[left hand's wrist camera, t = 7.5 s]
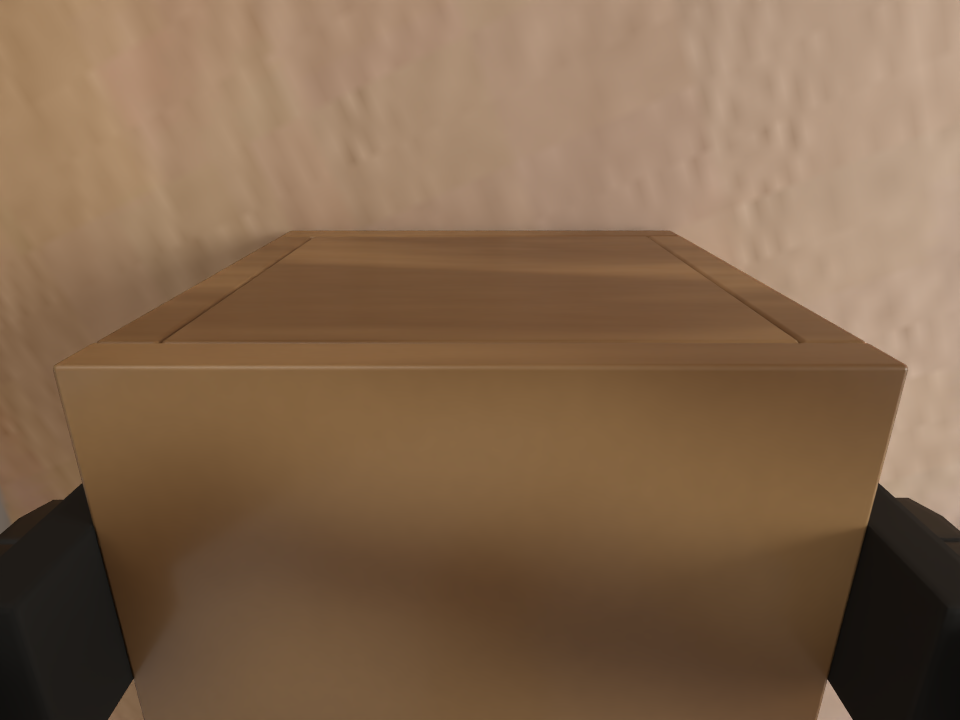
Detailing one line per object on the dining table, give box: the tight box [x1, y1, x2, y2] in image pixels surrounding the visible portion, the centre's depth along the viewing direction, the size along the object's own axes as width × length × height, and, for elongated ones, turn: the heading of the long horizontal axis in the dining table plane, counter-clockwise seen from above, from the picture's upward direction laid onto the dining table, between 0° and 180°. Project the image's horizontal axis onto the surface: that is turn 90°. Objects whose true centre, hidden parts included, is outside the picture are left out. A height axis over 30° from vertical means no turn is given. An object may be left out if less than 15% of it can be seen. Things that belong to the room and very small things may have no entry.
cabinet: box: [53, 231, 908, 720], centre depth 15 cm, size 19×10×10 cm, turn 0°
